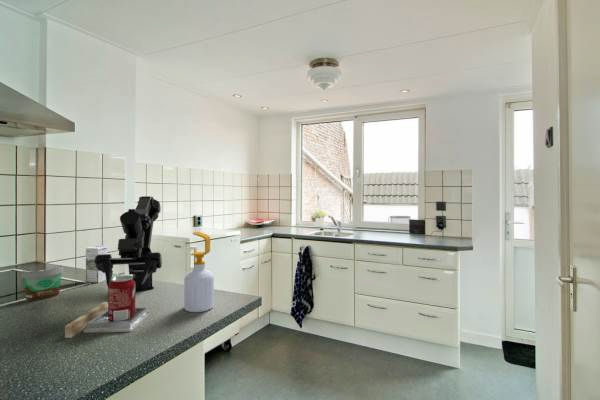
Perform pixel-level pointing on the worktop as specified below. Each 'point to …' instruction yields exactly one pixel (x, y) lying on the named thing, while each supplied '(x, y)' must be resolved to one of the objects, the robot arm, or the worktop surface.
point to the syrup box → (91, 269)
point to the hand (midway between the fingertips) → (125, 285)
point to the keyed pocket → (115, 322)
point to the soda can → (121, 298)
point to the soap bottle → (199, 283)
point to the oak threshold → (84, 320)
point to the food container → (42, 283)
